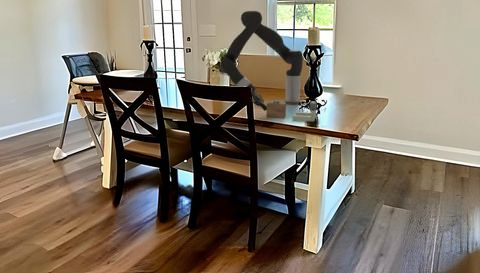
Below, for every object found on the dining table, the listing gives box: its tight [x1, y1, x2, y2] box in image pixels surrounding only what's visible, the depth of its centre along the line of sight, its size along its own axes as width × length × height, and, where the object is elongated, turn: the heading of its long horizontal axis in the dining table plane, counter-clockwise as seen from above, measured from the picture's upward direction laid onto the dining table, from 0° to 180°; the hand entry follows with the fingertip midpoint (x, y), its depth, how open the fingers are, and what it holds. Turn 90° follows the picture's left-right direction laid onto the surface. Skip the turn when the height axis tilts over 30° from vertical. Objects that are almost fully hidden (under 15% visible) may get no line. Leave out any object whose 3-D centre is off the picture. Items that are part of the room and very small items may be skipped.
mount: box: [292, 109, 317, 122], centre depth 229 cm, size 9×12×6 cm
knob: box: [309, 101, 318, 111], centre depth 224 cm, size 4×4×4 cm
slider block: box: [265, 99, 287, 119], centre depth 233 cm, size 5×10×9 cm, turn 73°
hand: (266, 109), depth 235 cm, fingers closed
